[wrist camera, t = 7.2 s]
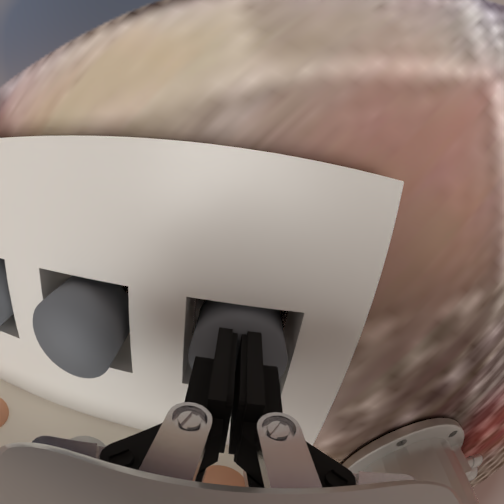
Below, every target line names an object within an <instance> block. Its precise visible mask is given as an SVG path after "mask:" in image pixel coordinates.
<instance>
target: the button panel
mask: <svg viewBox="0 0 504 504" xmlns="http://www.w3.org/2000/svg"><path fill="white" fill-rule="evenodd" d="M403 185H404V181H400V180H396V179H393V178H389V177H385V176H381V175H377V174H373V173H369V172H365V171H361V170H357V169H352V168H348V167H343V166H339V165H334V164H330V163H325V162H320V161H315V160H310V159H305V158H299V157H294V156H288V155H283V154H277V153H271V152H265V151H258V150H252V149H245V148H238V147H231V146H223V145H215V144H206V143H197V142H188V141H177V140H166V139H153V138H137V137H117V136H73V135H68V136H25V137H7V138H0V258H1V259H5V267H6V274H7V281H8V287H9V292H10V298H11V303H12V308H13V312H14V314H13V315H12V316H11V317H10V318H9V319H8V320H6V321H5V322H4V323H3V324H2V325H1V326H0V447H2V446H4V445H5V444H9V443H15V442H32V441H33V440H34V439H36V438H37V437H40V436H52V437H57V438H63V439H69V440H75V441H82V442H90V443H97V444H98V446H101V447H106V446H107V445H109V444H111V443H113V442H116V441H119V440H121V439H124V438H127V437H129V436H132V435H134V434H137V433H139V432H142V431H144V430H146V429H149V428H151V427H154V426H156V425H158V424H161V423H163V421H164V419H165V417H166V415H167V413H168V411H169V410H170V409H171V407H173V406H175V405H176V404H179V403H182V402H185V397H186V393H187V389H188V385H189V380H190V376H191V372H192V369H191V367H190V364H189V359H188V353H189V347H190V344H191V340H192V337H193V327H194V314H195V302H196V298H198V299H205V300H211V301H218V302H225V303H231V304H239V305H246V306H253V307H261V308H268V309H276V310H285V311H288V315H287V319H286V323H285V327H284V331H283V332H284V338H285V344H286V350H287V366H286V369H285V371H284V373H283V375H282V376H281V378H280V379H279V383H280V392H281V401H282V410H283V413H284V414H288V415H290V416H291V417H293V418H294V419H295V420H296V421H298V423H299V425H300V427H301V429H302V432H303V435H304V438H305V441H306V442H308V443H309V444H311V445H312V446H313V444H314V442H315V440H316V438H317V436H318V434H319V432H320V430H321V428H322V426H323V423H324V421H325V419H326V417H327V415H328V413H329V411H330V409H331V406H332V404H333V402H334V400H335V397H336V395H337V393H338V391H339V388H340V386H341V384H342V381H343V379H344V377H345V374H346V372H347V369H348V367H349V364H350V362H351V359H352V357H353V354H354V352H355V349H356V346H357V344H358V341H359V338H360V336H361V333H362V330H363V328H364V325H365V322H366V319H367V316H368V313H369V310H370V307H371V304H372V301H373V298H374V295H375V292H376V289H377V286H378V282H379V279H380V276H381V273H382V269H383V266H384V262H385V259H386V255H387V252H388V248H389V244H390V240H391V237H392V233H393V229H394V225H395V221H396V216H397V212H398V208H399V203H400V199H401V194H402V189H403ZM72 275H74V276H78V277H83V278H88V279H93V280H98V281H103V282H108V283H113V284H118V285H123V286H128V298H129V326H130V335H129V334H128V336H127V338H126V339H125V341H124V343H123V344H122V346H121V348H120V350H119V351H118V353H117V355H116V356H115V358H114V360H113V362H112V363H111V365H110V367H109V369H108V370H107V371H106V373H104V374H103V375H101V376H99V377H96V378H81V377H77V376H74V375H72V374H70V373H68V372H66V371H64V370H63V369H61V368H60V367H58V366H57V365H56V364H55V363H54V362H52V361H51V360H50V359H49V357H48V356H47V355H46V354H45V352H44V351H43V350H42V348H41V347H40V345H39V343H38V341H37V339H36V336H35V333H34V329H33V314H34V310H35V308H36V307H37V305H38V304H39V303H40V302H41V301H42V300H44V299H45V298H46V297H47V296H48V295H49V294H51V293H52V292H53V291H54V290H55V289H56V288H58V287H59V286H60V285H61V284H62V283H64V282H65V281H66V280H67V279H69V278H70V277H71V276H72ZM230 422H231V418H230ZM229 437H230V423H229V429H228V434H227V440H226V445H225V451H224V453H219V456H218V461H217V462H216V463H214V464H212V465H211V466H209V467H207V471H206V475H205V478H204V481H203V483H211V484H219V485H229V486H241V487H245V482H244V476H243V471H244V470H243V469H242V468H241V467H239V466H238V465H237V464H236V462H234V454H229Z"/></svg>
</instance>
